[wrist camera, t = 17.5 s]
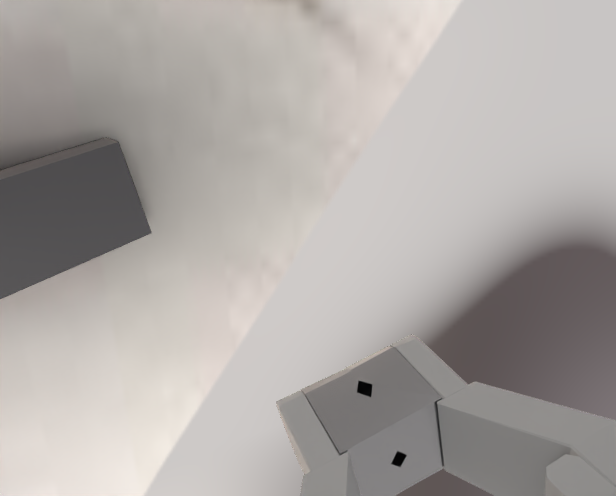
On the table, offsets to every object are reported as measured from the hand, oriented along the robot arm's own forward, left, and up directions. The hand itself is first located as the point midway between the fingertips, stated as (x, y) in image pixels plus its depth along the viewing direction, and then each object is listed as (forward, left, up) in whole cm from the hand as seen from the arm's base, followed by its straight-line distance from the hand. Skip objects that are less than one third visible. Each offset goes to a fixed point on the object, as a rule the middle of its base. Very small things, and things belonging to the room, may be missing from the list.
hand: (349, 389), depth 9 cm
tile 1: (-3, 0, -19) cm, 19 cm away
